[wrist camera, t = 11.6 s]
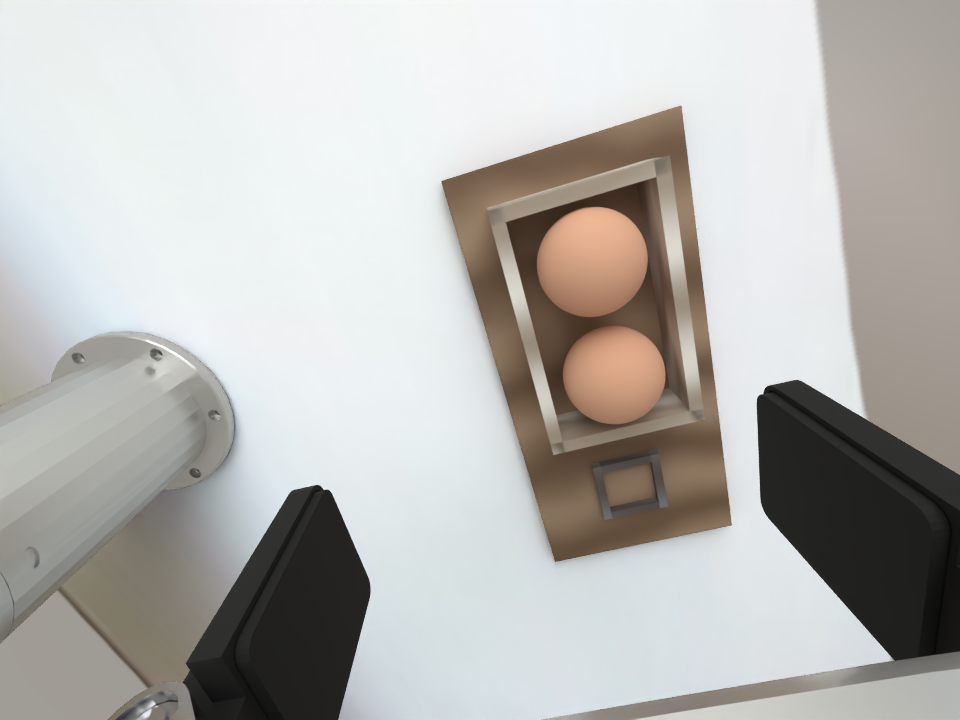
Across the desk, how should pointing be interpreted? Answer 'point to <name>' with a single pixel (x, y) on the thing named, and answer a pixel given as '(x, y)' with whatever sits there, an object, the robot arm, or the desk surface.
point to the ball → (592, 261)
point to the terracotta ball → (614, 374)
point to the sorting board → (552, 331)
